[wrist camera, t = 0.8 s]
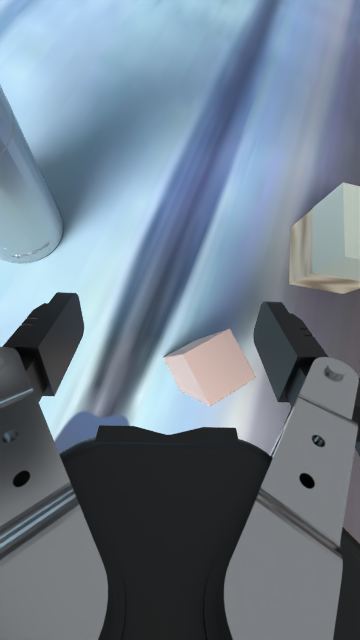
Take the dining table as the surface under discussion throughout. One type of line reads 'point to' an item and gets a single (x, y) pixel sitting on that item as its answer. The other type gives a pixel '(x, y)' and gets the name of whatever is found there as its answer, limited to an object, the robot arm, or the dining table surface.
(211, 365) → the pillar block
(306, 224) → the tower base
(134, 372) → the dining table surface
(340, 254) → the tower top
